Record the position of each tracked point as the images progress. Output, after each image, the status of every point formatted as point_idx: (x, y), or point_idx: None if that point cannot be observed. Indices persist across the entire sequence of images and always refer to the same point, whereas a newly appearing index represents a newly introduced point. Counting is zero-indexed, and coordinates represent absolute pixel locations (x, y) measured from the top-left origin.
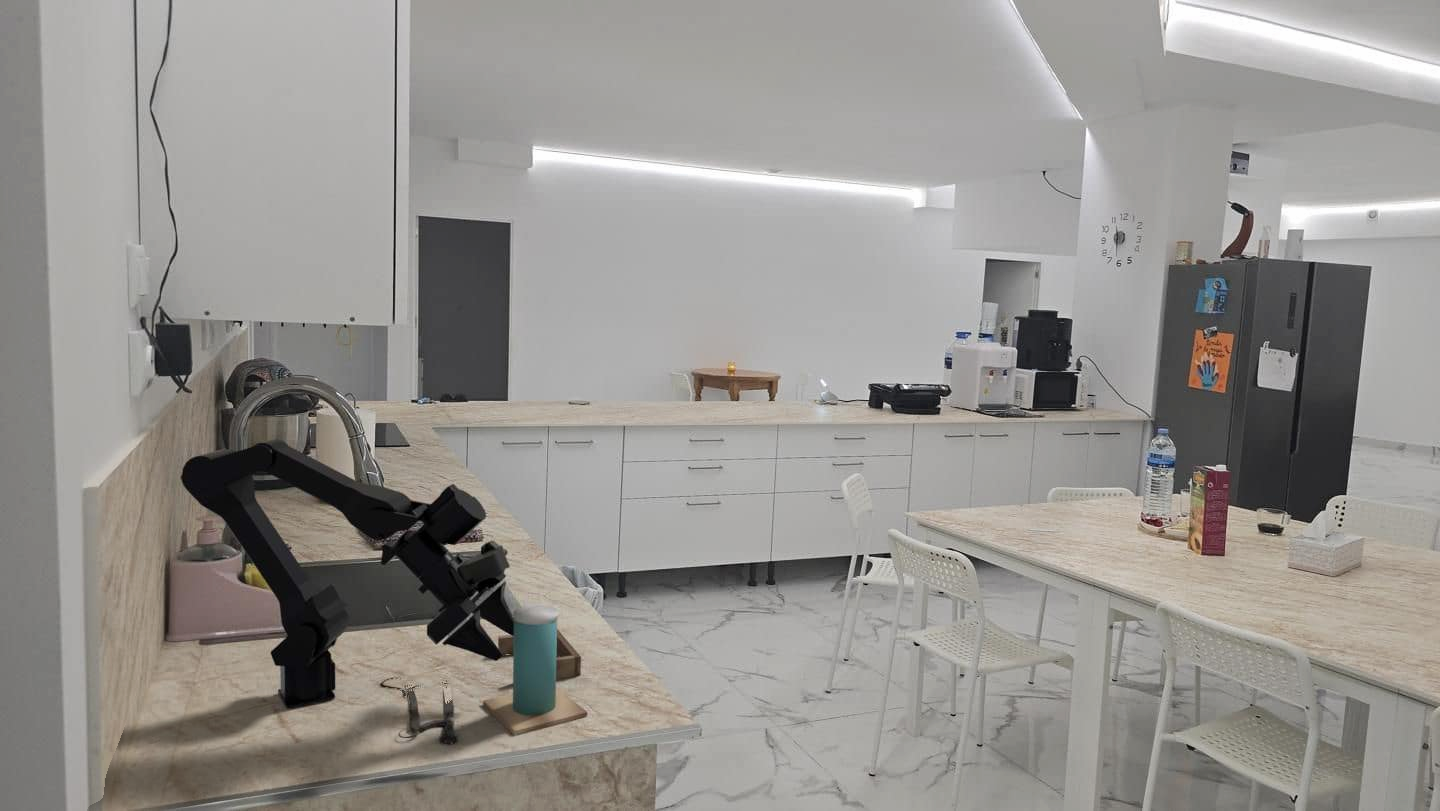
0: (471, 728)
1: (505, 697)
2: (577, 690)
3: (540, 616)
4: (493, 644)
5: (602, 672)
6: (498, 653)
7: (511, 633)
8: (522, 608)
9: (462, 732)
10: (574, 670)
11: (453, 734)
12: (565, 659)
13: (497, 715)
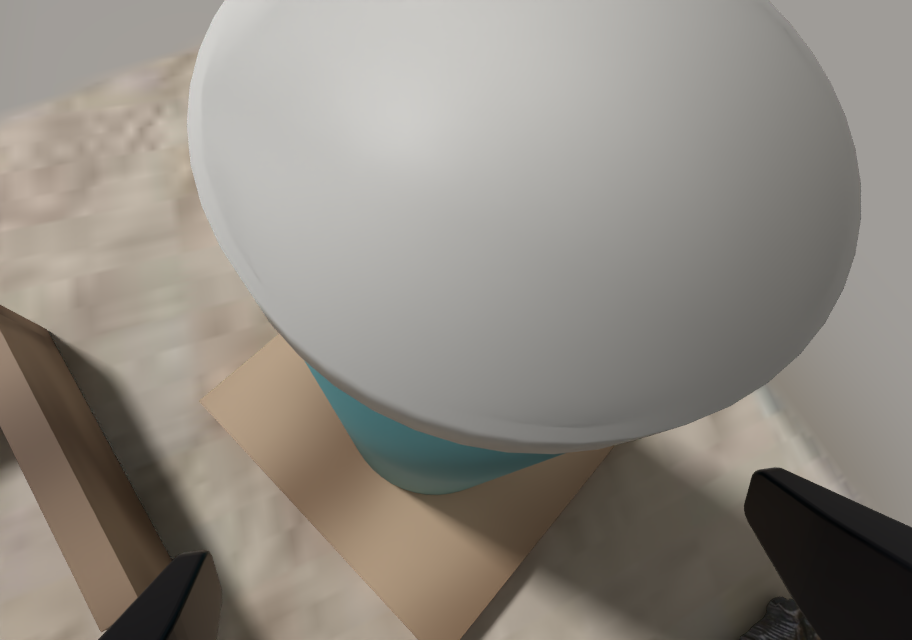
0: (657, 595)
1: (381, 565)
2: (216, 299)
3: (690, 13)
4: (898, 535)
5: (8, 251)
6: (812, 485)
7: (213, 632)
8: (476, 329)
9: (700, 616)
10: (43, 343)
11: (798, 620)
12: (20, 363)
13: (551, 523)
